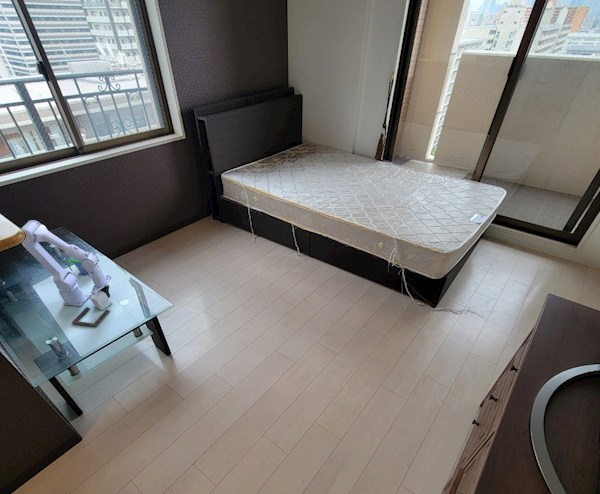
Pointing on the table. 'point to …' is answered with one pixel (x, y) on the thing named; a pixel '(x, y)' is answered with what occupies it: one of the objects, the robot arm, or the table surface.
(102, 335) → the table surface
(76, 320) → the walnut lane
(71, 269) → the snack cup
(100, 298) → the white cardboard box
